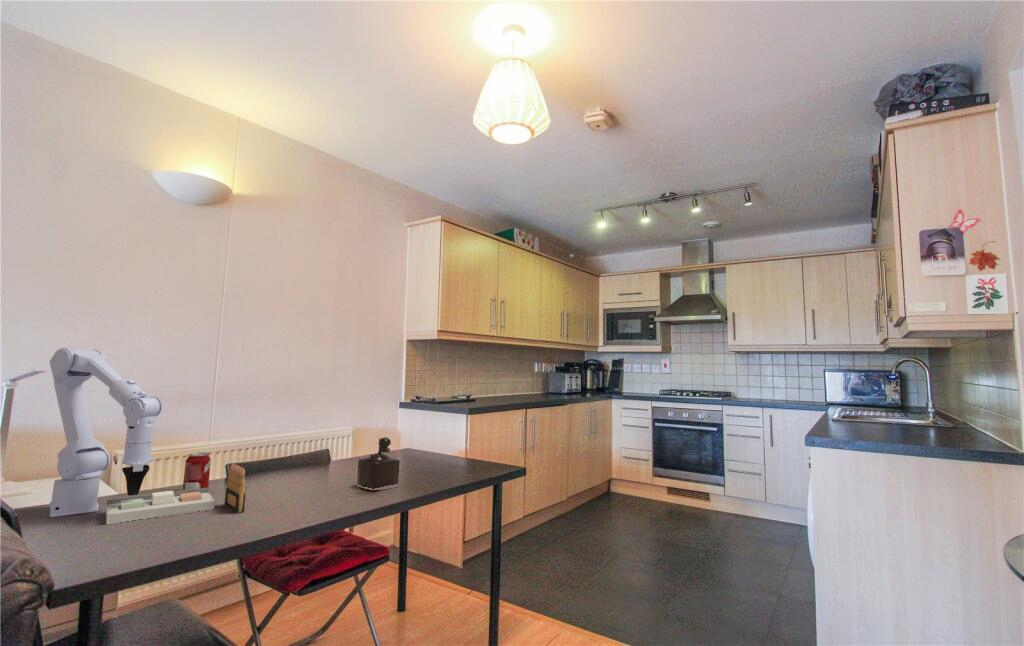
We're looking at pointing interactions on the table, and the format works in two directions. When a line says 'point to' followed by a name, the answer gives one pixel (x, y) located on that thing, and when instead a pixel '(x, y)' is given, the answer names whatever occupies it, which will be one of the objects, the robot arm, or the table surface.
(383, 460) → the dark box with figurine
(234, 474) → the pencil pack
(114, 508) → the keypad
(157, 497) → the key middle
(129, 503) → the key left
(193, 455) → the soda can
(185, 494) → the key right
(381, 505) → the table surface
